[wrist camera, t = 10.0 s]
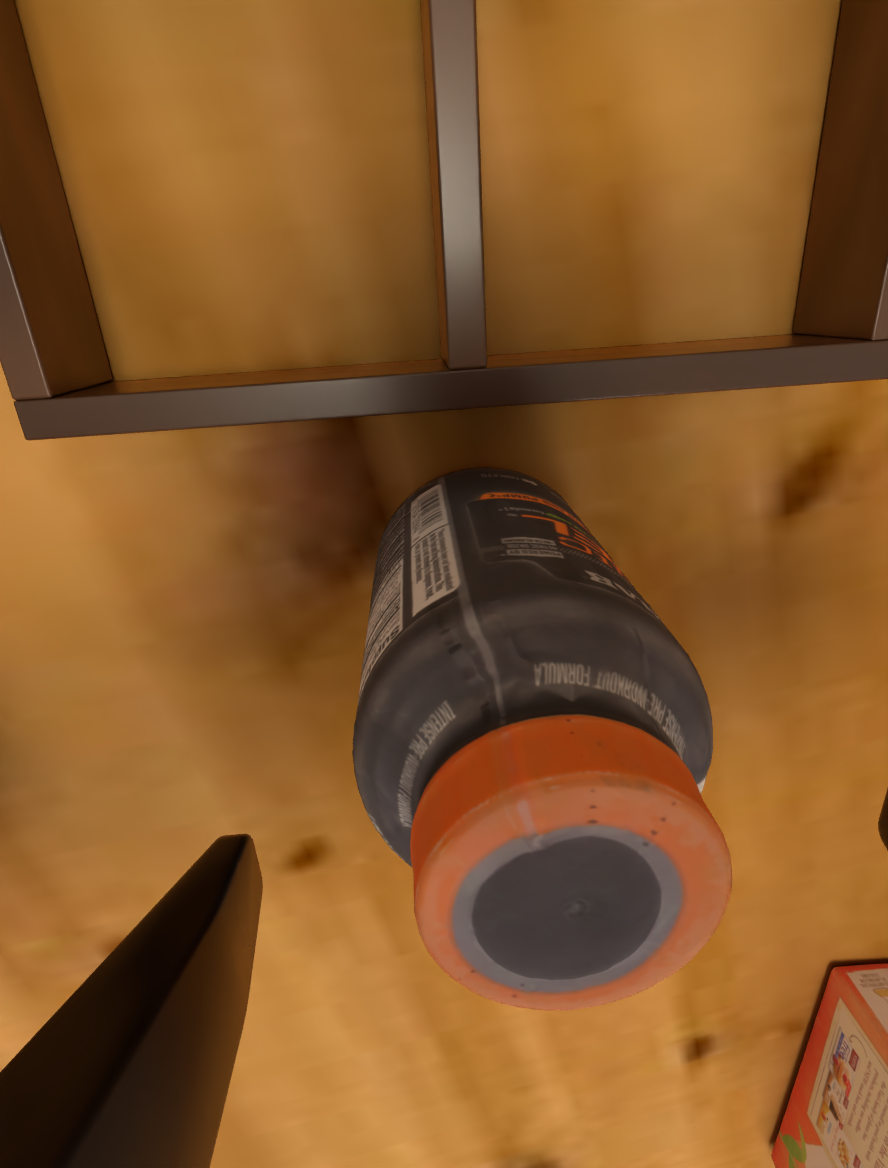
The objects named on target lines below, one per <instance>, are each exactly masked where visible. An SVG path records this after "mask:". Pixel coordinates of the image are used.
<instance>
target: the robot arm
mask: <svg viewBox="0 0 888 1168" xmlns="http://www.w3.org/2000/svg"><path fill="white" fill-rule="evenodd" d="M878 829H879V834H880V836H881V839H882V841H883V843H884V845H885V847H886V848H887V850H888V789H887V792H886V796H885V800H884V803H883V807H882V810H881V814H880V817H879V821H878ZM262 889H263V883H262V875H261V871H260V866H259V862H258V858H257V854H256V850H255V846H254V842H253V839H252V838H251V836H250V835H248V834H237V835H226V836H222V837H220V838H218V839H217V840H216V841H215V842H214V843H213V844H212V845H211V846H210V847H209V848H208V849H207V850H206V851H205V852H204V854H203V855H202V856H201V857H200V858H199V859H198V860H197V861H196V862H195V863H194V864H193V865H192V866H191V868H190V869H189V870H188V871H187V872H186V873H185V874H184V875H183V876H182V877H181V878H180V879H179V880H178V882H177V883H176V884H175V885H174V886H173V887H172V888H171V889H170V890H169V891H168V892H167V893H166V894H165V896H164V897H163V898H162V899H161V900H160V901H159V902H158V903H157V904H156V905H155V906H154V907H153V908H152V910H151V911H150V912H149V913H148V914H147V915H146V916H145V917H144V918H143V919H142V920H141V921H140V922H139V924H138V925H137V926H136V927H135V928H134V929H133V930H132V931H131V932H130V933H129V934H128V935H127V936H126V938H125V939H124V940H123V941H122V942H121V943H120V944H119V945H118V946H117V947H116V948H115V949H114V950H113V952H112V953H111V954H110V955H109V956H108V957H107V958H106V959H105V960H104V961H103V962H102V963H101V964H100V965H99V967H98V968H97V969H96V970H95V971H94V972H93V973H92V974H91V975H90V976H89V977H88V978H87V979H86V981H85V982H84V983H83V984H82V985H81V986H80V987H79V988H78V989H77V990H76V991H75V992H74V993H73V995H72V996H71V997H70V998H69V999H68V1000H67V1001H66V1002H65V1003H64V1004H63V1005H62V1006H61V1007H60V1009H59V1010H58V1011H57V1012H56V1013H55V1014H54V1015H53V1016H52V1017H51V1018H50V1019H49V1020H48V1021H47V1023H46V1024H45V1025H44V1026H43V1027H42V1028H41V1029H40V1030H39V1031H38V1032H37V1033H36V1034H35V1035H34V1037H33V1038H32V1039H31V1040H30V1041H29V1042H28V1043H27V1044H26V1045H25V1046H24V1047H23V1048H22V1049H21V1051H20V1052H19V1053H18V1054H17V1055H16V1056H15V1057H14V1058H13V1059H12V1060H11V1061H10V1062H9V1063H8V1065H7V1066H6V1067H5V1068H4V1069H3V1070H2V1071H1V1072H0V1168H210V1164H211V1159H212V1155H213V1151H214V1147H215V1143H216V1138H217V1134H218V1130H219V1126H220V1122H221V1117H222V1113H223V1109H224V1105H225V1101H226V1097H227V1092H228V1088H229V1084H230V1080H231V1076H232V1071H233V1067H234V1063H235V1059H236V1055H237V1050H238V1046H239V1042H240V1038H241V1034H242V1029H243V1024H244V1020H245V1015H246V1010H247V1004H248V997H249V990H250V983H251V975H252V968H253V960H254V953H255V945H256V937H257V930H258V922H259V915H260V907H261V900H262Z"/></svg>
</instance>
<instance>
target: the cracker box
mask: <svg viewBox="0 0 888 1168" xmlns="http://www.w3.org/2000/svg"><path fill="white" fill-rule="evenodd" d="M771 1156H772V1159H773V1162H774V1165H775V1167H776V1168H888V963H885V964H868V965H854V966H842V967H834V968H833V970H832V971H831V973H830V977H829V980H828V983H827V987H826V990H825V993H824V996H823V999H822V1002H821V1006H820V1009H819V1011H818V1014H817V1017H816V1020H815V1023H814V1026H813V1029H812V1032H811V1035H810V1038H809V1041H808V1044H807V1048H806V1051H805V1054H804V1057H803V1060H802V1063H801V1066H800V1069H799V1072H798V1075H797V1078H796V1081H795V1085H794V1088H793V1091H792V1093H791V1097H790V1100H789V1103H788V1106H787V1109H786V1112H785V1115H784V1118H783V1121H782V1124H781V1127H780V1130H779V1133H778V1136H777V1139H776V1142H775V1145H774V1148H773V1151H772V1155H771Z"/></svg>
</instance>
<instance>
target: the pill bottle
mask: <svg viewBox="0 0 888 1168" xmlns="http://www.w3.org/2000/svg"><path fill="white" fill-rule="evenodd" d="M712 751H713V727H712V717H711V711H710V706H709V702H708V698H707V694H706V691H705V689H704V686H703V683H702V681H701V678H700V676H699V674H698V672H697V670H696V668H695V666H694V664H693V663H692V661H691V659H690V657H689V656H688V654H687V653H686V652H685V650H684V649H683V648H682V646H681V645H680V644H679V642H678V641H677V640H676V639H675V637H674V636H673V635H672V634H671V632H670V631H669V630H668V629H667V628H666V626H665V625H664V624H663V622H662V621H661V619H660V618H659V617H658V616H657V614H656V613H655V612H654V611H653V609H652V608H651V606H650V605H649V604H648V603H647V602H646V601H645V600H644V599H643V598H642V596H641V595H640V594H639V593H638V592H637V591H636V589H635V588H634V586H633V585H632V584H631V583H630V581H629V580H628V579H627V578H626V576H625V575H624V574H623V573H622V572H621V571H620V570H619V568H618V567H617V566H616V565H615V563H614V562H613V560H612V559H611V557H610V556H609V555H608V553H607V552H606V551H605V550H604V549H603V548H602V546H601V545H600V544H599V543H598V541H597V540H596V539H595V538H594V537H593V536H592V534H591V533H590V531H589V530H588V529H587V527H586V526H585V525H584V524H583V523H582V521H581V520H580V519H579V517H578V516H577V515H576V514H575V513H574V512H573V510H572V509H571V508H570V506H569V505H568V504H567V503H566V501H565V500H564V499H563V498H562V497H561V496H560V495H559V494H558V493H557V492H556V491H554V490H553V489H551V488H550V487H549V486H547V485H546V484H544V483H542V482H541V481H539V480H537V479H535V478H533V477H531V476H528V475H526V474H523V473H520V472H516V471H511V470H505V469H494V468H489V467H484V468H473V469H465V470H461V471H456V472H452V473H449V474H447V475H444V476H442V477H439V478H437V479H435V480H433V481H431V482H429V483H428V484H426V485H424V486H423V487H421V488H420V489H418V490H417V491H416V492H414V493H413V494H412V495H411V496H410V497H409V498H408V499H407V500H406V501H405V502H404V503H403V504H402V505H401V506H400V507H399V508H398V509H397V511H396V512H395V513H394V515H393V516H392V518H391V519H390V521H389V523H388V525H387V527H386V529H385V530H384V533H383V535H382V538H381V542H380V546H379V549H378V554H377V559H376V566H375V574H374V581H373V589H372V596H371V605H370V613H369V621H368V628H367V636H366V644H365V651H364V659H363V665H362V674H361V683H360V692H359V700H358V708H357V714H356V720H355V724H354V737H353V761H354V771H355V776H356V781H357V786H358V790H359V793H360V795H361V798H362V801H363V804H364V807H365V809H366V811H367V813H368V816H369V818H370V819H371V821H372V823H373V825H374V826H375V828H376V830H377V831H378V832H379V833H380V835H381V836H382V838H383V839H384V840H385V842H386V843H387V844H388V845H389V847H390V848H391V849H392V850H393V851H394V852H395V853H396V854H397V855H398V856H400V857H401V858H402V859H403V860H404V861H405V862H406V863H408V864H409V865H410V866H411V867H413V873H414V913H415V917H416V921H417V925H418V929H419V933H420V935H421V937H422V939H423V942H424V944H425V946H426V948H427V950H428V952H429V953H430V955H431V956H432V957H433V959H434V960H435V961H436V962H437V964H438V965H439V966H440V967H441V968H442V969H443V970H444V971H445V972H446V973H447V974H448V975H449V976H450V977H451V978H453V979H454V980H456V981H457V982H459V983H460V984H462V985H463V986H465V987H466V988H468V989H469V990H471V991H472V992H474V993H476V994H479V995H481V996H483V997H485V998H488V999H491V1000H493V1001H496V1002H499V1003H502V1004H506V1005H511V1006H515V1007H521V1008H530V1009H539V1010H574V1009H581V1008H588V1007H593V1006H598V1005H603V1004H606V1003H609V1002H614V1001H617V1000H620V999H623V998H626V997H629V996H632V995H634V994H636V993H639V992H641V991H643V990H645V989H648V988H650V987H652V986H654V985H655V984H657V983H658V982H660V981H662V980H664V979H665V978H667V977H669V976H671V975H672V974H674V973H675V972H676V971H678V970H679V969H681V968H682V967H683V966H684V965H686V964H687V963H688V962H689V961H690V960H691V959H692V958H693V957H694V956H695V955H696V954H697V953H698V952H699V951H700V949H701V948H702V947H703V946H704V945H705V944H706V943H707V942H708V940H709V939H710V937H711V936H712V935H713V933H714V932H715V930H716V929H717V927H718V925H719V923H720V921H721V919H722V917H723V915H724V912H725V910H726V907H727V904H728V902H729V898H730V894H731V887H732V869H731V859H730V854H729V850H728V847H727V844H726V841H725V839H724V836H723V833H722V832H721V830H720V828H719V826H718V825H717V823H716V821H715V820H714V818H713V816H712V814H711V813H710V811H709V809H708V808H707V806H706V804H705V803H704V801H703V799H702V797H701V792H702V789H703V787H704V784H705V780H706V776H707V772H708V769H709V767H710V764H711V758H712Z"/></svg>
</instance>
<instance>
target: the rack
mask: <svg viewBox="0 0 888 1168" xmlns="http://www.w3.org/2000/svg"><path fill="white" fill-rule="evenodd" d="M420 8H421V24H422V41H423V58H424V75H425V91H426V108H427V125H428V142H429V158H430V175H431V192H432V209H433V225H434V242H435V259H436V276H437V292H438V309H439V326H440V343H441V357H442V359H432V360H418V361H403V362H389V363H375V364H360V365H346V366H332V367H317V368H303V369H288V370H274V371H260V372H245V373H231V374H217V375H202V376H188V377H174V378H159V379H145V380H130V381H116V382H111V381H112V375H111V371H110V367H109V363H108V359H107V356H106V352H105V348H104V344H103V340H102V337H101V333H100V329H99V325H98V321H97V317H96V314H95V310H94V306H93V302H92V298H91V294H90V291H89V287H88V283H87V279H86V275H85V272H84V268H83V264H82V260H81V256H80V252H79V249H78V245H77V241H76V237H75V233H74V229H73V226H72V222H71V218H70V214H69V210H68V206H67V203H66V199H65V195H64V191H63V187H62V184H61V180H60V176H59V172H58V168H57V164H56V161H55V157H54V153H53V149H52V145H51V141H50V138H49V134H48V130H47V126H46V122H45V119H44V115H43V111H42V107H41V103H40V99H39V96H38V92H37V88H36V84H35V80H34V76H33V73H32V69H31V65H30V61H29V57H28V53H27V50H26V46H25V42H24V38H23V34H22V31H21V27H20V23H19V19H18V15H17V11H16V8H15V4H14V0H0V361H1V365H2V368H3V371H4V374H5V377H6V380H7V383H8V386H9V389H10V392H11V395H12V398H13V399H14V400H16V401H14V406H15V409H16V412H17V415H18V418H19V421H20V424H21V427H22V430H23V433H24V436H25V439H26V440H42V439H56V438H70V437H84V436H98V435H112V434H126V433H140V432H154V431H168V430H181V429H195V428H209V427H223V426H237V425H251V424H265V423H279V422H293V421H307V420H321V419H335V418H349V417H363V416H377V415H391V414H405V413H419V412H433V411H447V410H461V409H475V408H489V407H503V406H517V405H530V404H544V403H558V402H572V401H586V400H600V399H614V398H628V397H642V396H656V395H670V394H684V393H698V392H712V391H726V390H740V389H754V388H768V387H782V386H796V385H810V384H824V383H838V382H852V381H866V380H879V379H888V0H843V1H842V8H841V14H840V21H839V28H838V34H837V41H836V48H835V54H834V61H833V68H832V74H831V81H830V88H829V94H828V101H827V108H826V114H825V121H824V128H823V134H822V141H821V148H820V154H819V161H818V168H817V174H816V181H815V188H814V194H813V201H812V208H811V214H810V221H809V228H808V234H807V241H806V248H805V254H804V261H803V268H802V274H801V281H800V288H799V294H798V301H797V308H796V314H795V321H794V328H793V334H791V335H777V336H763V337H748V338H734V339H719V340H705V341H691V342H676V343H662V344H648V345H633V346H619V347H605V348H590V349H576V350H561V351H547V352H533V353H518V354H504V355H490V356H487V339H486V308H485V277H484V246H483V215H482V184H481V153H480V121H479V90H478V59H477V28H476V0H420Z"/></svg>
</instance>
